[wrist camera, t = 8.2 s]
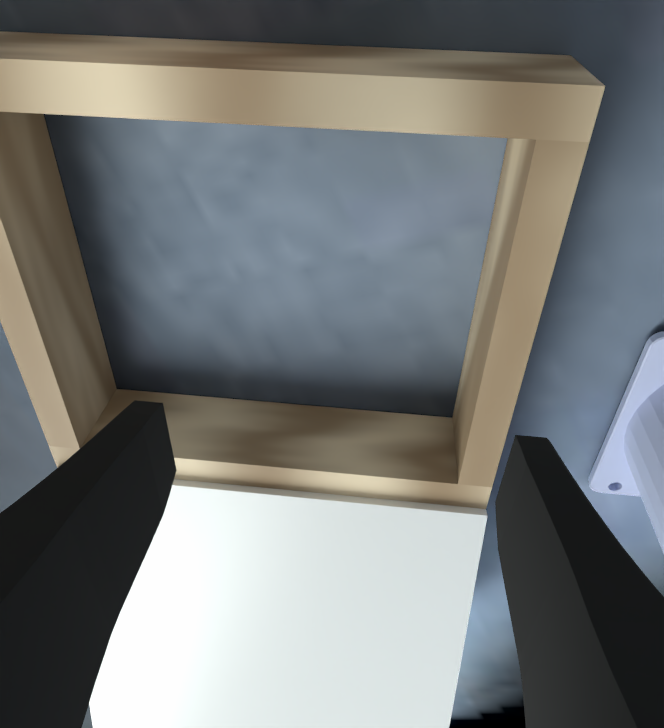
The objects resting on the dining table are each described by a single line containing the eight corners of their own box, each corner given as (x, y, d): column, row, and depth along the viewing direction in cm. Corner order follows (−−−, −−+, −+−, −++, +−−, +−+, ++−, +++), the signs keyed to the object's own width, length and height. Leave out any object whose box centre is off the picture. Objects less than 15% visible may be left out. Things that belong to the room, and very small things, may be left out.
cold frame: (570, 55, 16) (671, 144, 10) (434, 619, 33) (439, 776, 27) (-19, 30, 17) (-259, 96, 11) (150, 587, 34) (94, 732, 28)
